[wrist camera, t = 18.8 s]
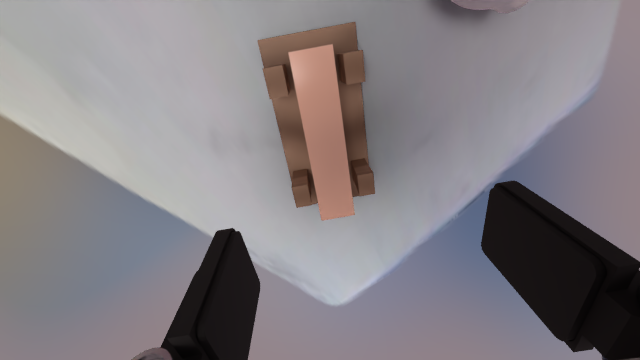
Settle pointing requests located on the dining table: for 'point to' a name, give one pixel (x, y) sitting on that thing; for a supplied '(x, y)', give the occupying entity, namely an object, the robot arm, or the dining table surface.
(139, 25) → the dining table surface
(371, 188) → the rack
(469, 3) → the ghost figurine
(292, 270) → the dining table surface
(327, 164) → the clay strip
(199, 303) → the robot arm
